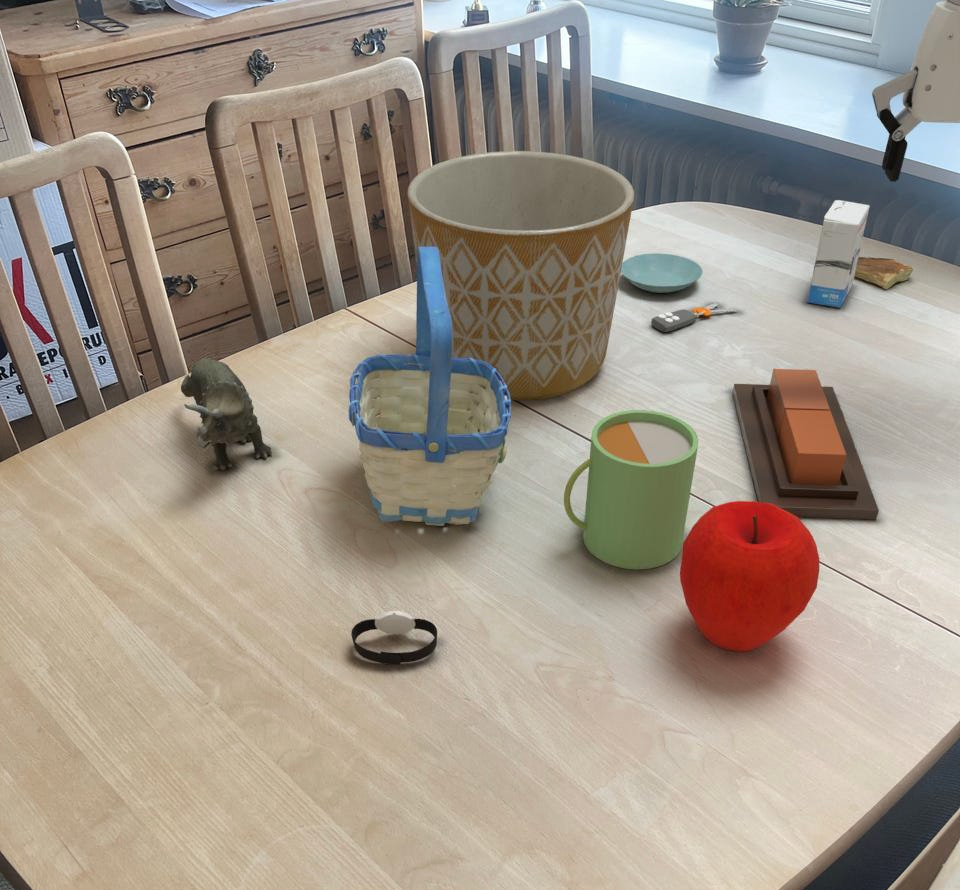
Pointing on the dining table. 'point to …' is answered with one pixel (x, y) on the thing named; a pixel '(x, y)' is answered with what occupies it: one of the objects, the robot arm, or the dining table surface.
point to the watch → (394, 625)
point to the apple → (747, 572)
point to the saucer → (661, 272)
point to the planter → (526, 261)
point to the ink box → (838, 253)
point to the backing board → (761, 437)
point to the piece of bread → (882, 271)
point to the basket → (429, 418)
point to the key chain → (683, 317)
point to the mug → (636, 488)
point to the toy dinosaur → (222, 410)
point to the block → (811, 447)
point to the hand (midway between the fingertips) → (937, 178)
